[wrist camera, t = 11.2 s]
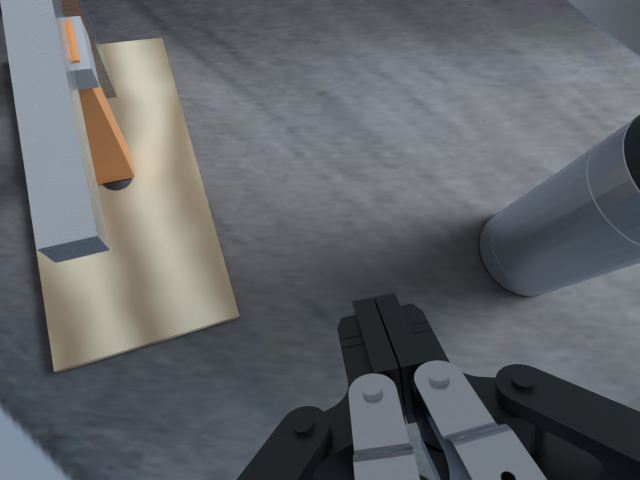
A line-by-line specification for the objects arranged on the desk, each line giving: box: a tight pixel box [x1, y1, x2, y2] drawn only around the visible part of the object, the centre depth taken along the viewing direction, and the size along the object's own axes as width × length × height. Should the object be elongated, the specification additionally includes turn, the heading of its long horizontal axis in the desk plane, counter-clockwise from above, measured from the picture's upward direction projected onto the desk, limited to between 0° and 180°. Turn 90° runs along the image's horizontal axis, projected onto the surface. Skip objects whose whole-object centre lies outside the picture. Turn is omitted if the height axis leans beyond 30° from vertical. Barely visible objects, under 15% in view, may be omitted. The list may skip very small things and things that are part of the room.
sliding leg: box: [64, 16, 135, 184], centre depth 30 cm, size 4×4×14 cm
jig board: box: [8, 38, 240, 372], centre depth 37 cm, size 14×30×1 cm, turn 19°
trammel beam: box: [0, 0, 117, 263], centre depth 29 cm, size 3×27×17 cm, turn 19°
